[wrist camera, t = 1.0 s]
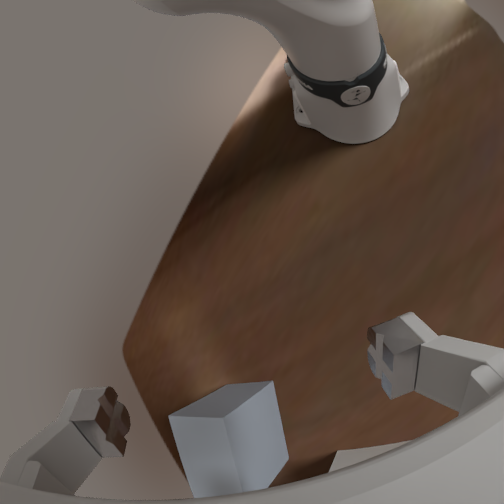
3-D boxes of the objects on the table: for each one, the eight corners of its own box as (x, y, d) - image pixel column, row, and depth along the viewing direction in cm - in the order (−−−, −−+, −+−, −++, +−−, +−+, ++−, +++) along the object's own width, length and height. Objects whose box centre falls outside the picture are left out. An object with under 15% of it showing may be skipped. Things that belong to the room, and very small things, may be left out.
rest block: (226, 384, 48) (168, 415, 34) (272, 380, 45) (223, 417, 31) (244, 457, 45) (195, 502, 32) (288, 458, 42) (248, 511, 29)
